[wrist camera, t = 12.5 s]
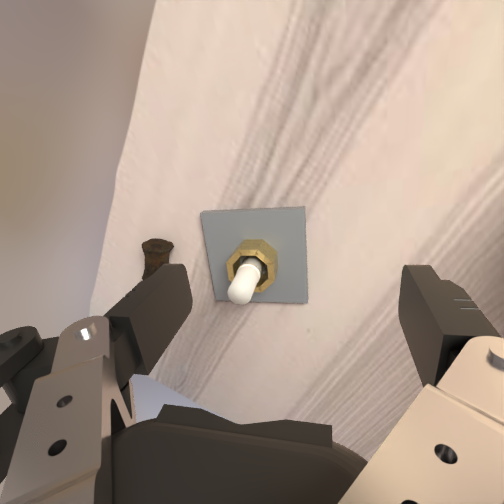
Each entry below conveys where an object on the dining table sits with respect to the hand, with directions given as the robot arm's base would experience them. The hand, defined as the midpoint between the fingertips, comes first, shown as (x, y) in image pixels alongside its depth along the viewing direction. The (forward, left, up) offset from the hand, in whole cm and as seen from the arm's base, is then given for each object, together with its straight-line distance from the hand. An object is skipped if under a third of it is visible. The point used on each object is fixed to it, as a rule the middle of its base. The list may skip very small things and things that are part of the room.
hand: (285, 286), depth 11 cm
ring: (+8, +12, -27) cm, 31 cm away
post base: (+8, +12, -28) cm, 32 cm away
